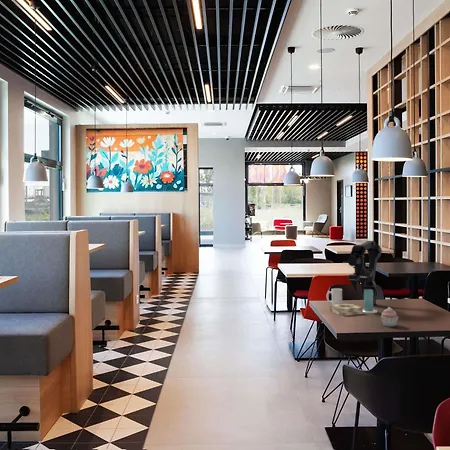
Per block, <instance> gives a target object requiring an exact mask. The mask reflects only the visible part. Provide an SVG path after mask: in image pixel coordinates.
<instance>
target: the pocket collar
mask: <svg viewBox="0 0 450 450" xmlns="http://www.w3.org/2000/svg"><path fill="white" fill-rule="evenodd" d="M363 309H364V306H360V305H356V304H353V303H342V304H337V305H332V304H330V305H329V312H330V313H333V314H336V315H339V316H341V317H344V316H353V315H354V316H355V315H363V314H364V313H363Z"/></svg>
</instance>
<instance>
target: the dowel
mask: <svg viewBox="0 0 450 450" xmlns="http://www.w3.org/2000/svg"><path fill="white" fill-rule="evenodd" d="M363 309H364V311H373V309H374V305H373V290H371V289H365V290H364V295H363Z"/></svg>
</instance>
